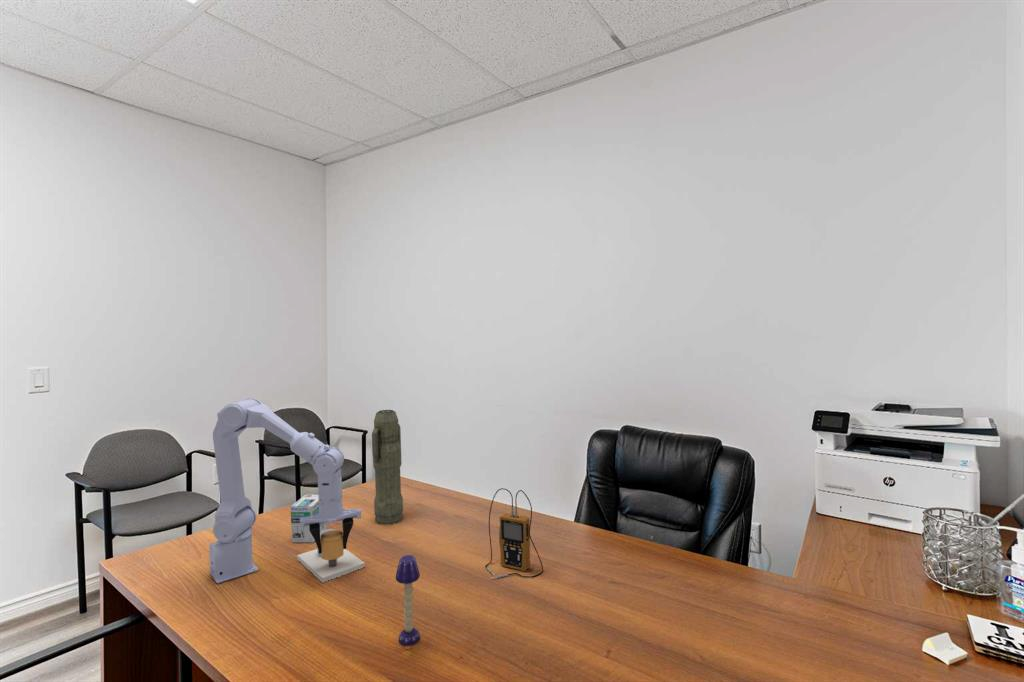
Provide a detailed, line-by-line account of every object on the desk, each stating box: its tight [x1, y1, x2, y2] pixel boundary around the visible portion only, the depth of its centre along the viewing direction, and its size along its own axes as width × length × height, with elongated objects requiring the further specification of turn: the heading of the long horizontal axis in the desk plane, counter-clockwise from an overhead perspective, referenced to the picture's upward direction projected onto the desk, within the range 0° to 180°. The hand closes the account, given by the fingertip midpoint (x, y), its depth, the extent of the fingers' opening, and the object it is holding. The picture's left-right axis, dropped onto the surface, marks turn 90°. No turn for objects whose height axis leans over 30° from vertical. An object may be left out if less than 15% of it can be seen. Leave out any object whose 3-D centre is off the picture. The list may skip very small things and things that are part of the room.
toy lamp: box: [395, 554, 421, 647], centre depth 101 cm, size 5×5×17 cm
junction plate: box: [296, 528, 366, 583], centre depth 134 cm, size 11×17×7 cm, turn 42°
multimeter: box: [485, 487, 544, 580], centre depth 126 cm, size 15×10×20 cm
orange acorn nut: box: [321, 529, 344, 560], centre depth 130 cm, size 5×5×6 cm
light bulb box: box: [289, 494, 328, 543], centre depth 152 cm, size 11×7×11 cm, turn 179°
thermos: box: [371, 409, 404, 525], centre depth 163 cm, size 9×12×35 cm
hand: (332, 549), depth 130 cm, fingers closed on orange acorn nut, 5 cm apart
